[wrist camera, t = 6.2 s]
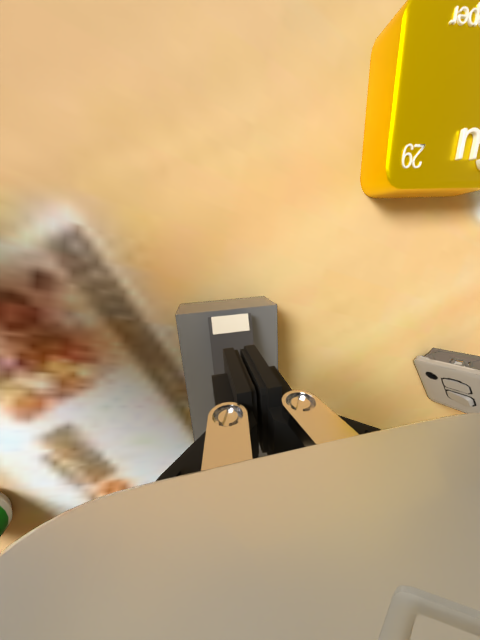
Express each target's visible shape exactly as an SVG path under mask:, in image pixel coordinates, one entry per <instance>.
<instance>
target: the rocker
mask: <svg viewBox="0 0 480 640" xmlns="http://www.w3.org/2000/svg"><path fill="white" fill-rule="evenodd" d="M208 324H209V333H210V342H211V351H212V361H213V370H214V375H217V374H224V373H225V371H224V360H223V349H225V348H232V347H233V348H234V350H238V352H239V354H240V349H244V346H247V345H254V340H253V331H252V321H251V313H246V314H236V315H226V316H217V317H208Z"/></svg>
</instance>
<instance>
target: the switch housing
mask: <svg viewBox="0 0 480 640" xmlns="http://www.w3.org/2000/svg"><path fill="white" fill-rule="evenodd" d="M246 313H251V321H252V331H253V340H254V345H255V346H256V348H257V349H258V351H259V352H260V354H261V355H262V357H263V358H264V360H265V361H266V363H267V364H268V366H275V367H276V368H277V370H278V338H277V304H275V303H274V302H272V301H270V300H269V299H267V298H266V297H264V296H261V297H250V298H240V299H229V300H218V301H208V302H197V303H186V304H180V306H179V308H178V310H177V313H176V322H177V329H178V335H179V342H180V349H181V355H182V362H183V368H184V375H185V382H186V388H187V395H188V401H189V408H190V415H191V421H192V428H193V435H194V441H196V440H197V439H198V438H199V437H200V436H201V435H202V434H203V433H204V432H205V431H206V428H207V420H208V415H209V412H210V411H211V410H212V408H214V407H215V402H214V394H213V385H212V376H211V375H214V370H213V361H212V351H211V342H210V333H209V324H208V317H217V316H226V315H236V314H246ZM258 455H259V457H263V456H268V455H267V453H262V451H261V448H260V445H259V454H258Z"/></svg>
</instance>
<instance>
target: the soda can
mask: <svg viewBox="0 0 480 640" xmlns="http://www.w3.org/2000/svg"><path fill="white" fill-rule="evenodd" d="M11 505H12V504H11V502H10V499H9V498H8V497H7V496H6V495H5V494H3V493H1V492H0V536H1V535H2V534H3V532H4V531H5V529H6V528H7V527H8V525H9V523H10V522H11V520H12V509H11Z"/></svg>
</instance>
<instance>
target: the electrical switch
mask: <svg viewBox="0 0 480 640" xmlns="http://www.w3.org/2000/svg"><path fill="white" fill-rule="evenodd" d="M451 359H453V360H451ZM456 360H459V361H463V363H462V362H457V361H456ZM469 363H470V364H469ZM414 364H415V366H416V369H417V371H418V374H419V376H420V378H421V381H422V383H423V386H424V388H425V391H426V393H427V396H428V397H429V399H431V400H432V401H434V402H437V403H440V404H442V405H445V406H448V407H451V408H453V409H456V410H459V411H462V412H464V413H467V414H470V413H480V356H475V355H469V354H464V353H458V352H453V351H447V350H442V349H437V348H433V349H432V350H431V351H430V352H429V353H428V354H427V355H426V356H425V357H423V356H417V357H416V358H415V359H414Z"/></svg>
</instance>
